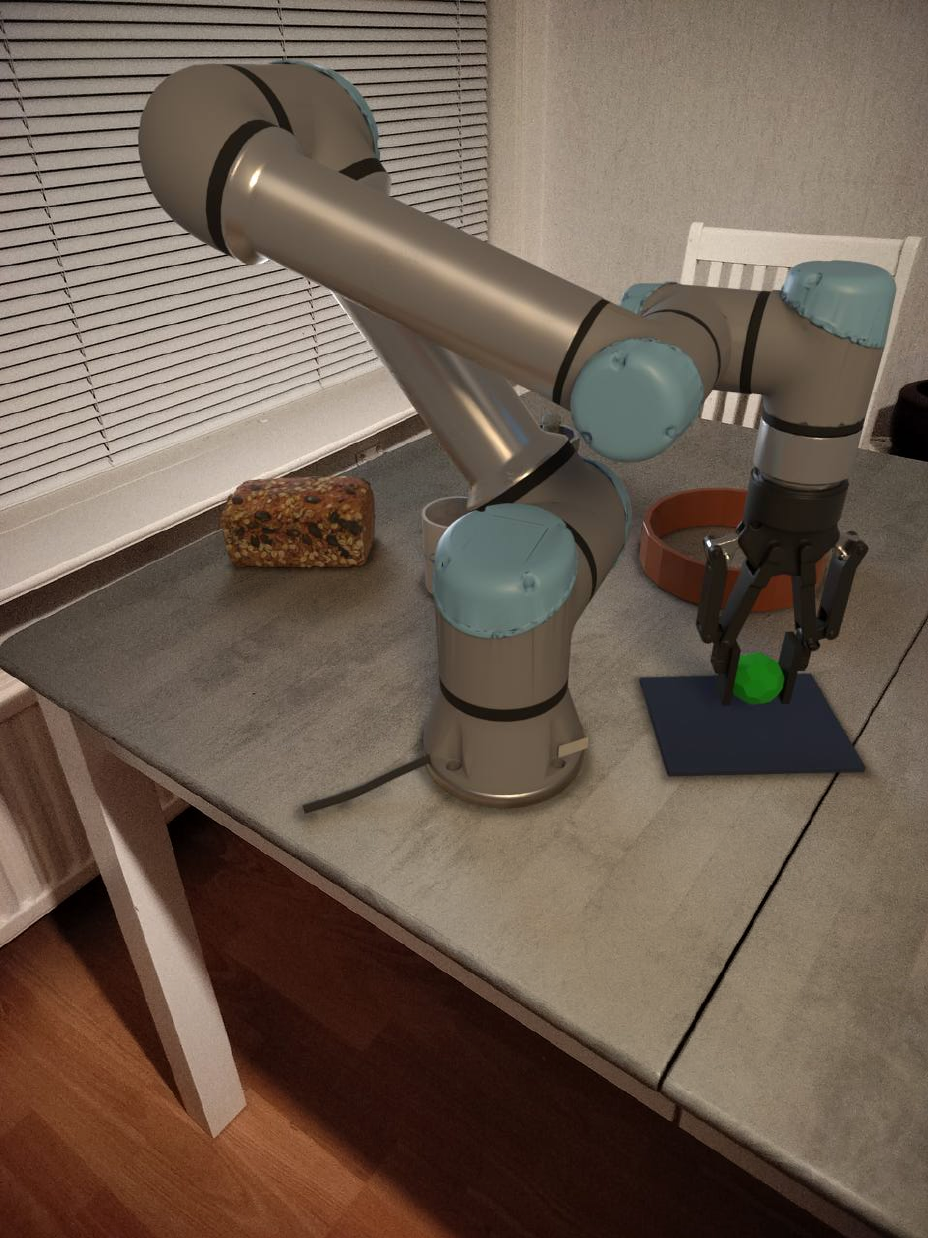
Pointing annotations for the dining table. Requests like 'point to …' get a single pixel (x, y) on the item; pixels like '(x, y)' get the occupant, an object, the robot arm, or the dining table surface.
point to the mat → (746, 730)
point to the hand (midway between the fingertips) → (751, 695)
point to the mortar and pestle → (559, 428)
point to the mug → (438, 528)
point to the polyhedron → (758, 678)
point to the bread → (300, 522)
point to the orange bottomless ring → (688, 573)
